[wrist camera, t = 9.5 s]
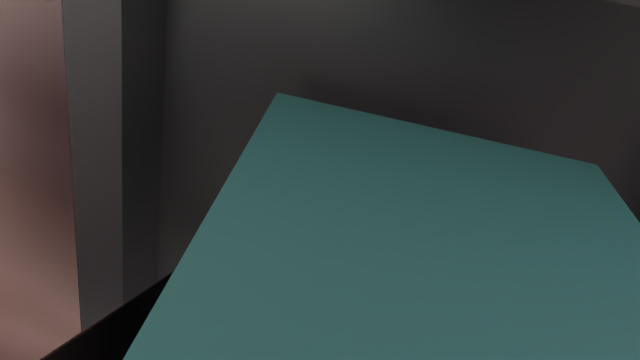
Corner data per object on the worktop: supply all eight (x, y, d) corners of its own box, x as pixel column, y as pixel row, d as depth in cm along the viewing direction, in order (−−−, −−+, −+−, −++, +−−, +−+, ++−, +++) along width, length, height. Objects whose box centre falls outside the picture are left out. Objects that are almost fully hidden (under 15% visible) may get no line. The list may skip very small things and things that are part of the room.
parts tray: (552, 426, 13) (580, 522, 11) (131, 328, 13) (85, 405, 11) (848, -27, 7) (1006, 2, 6) (135, -181, 8) (48, -205, 6)
